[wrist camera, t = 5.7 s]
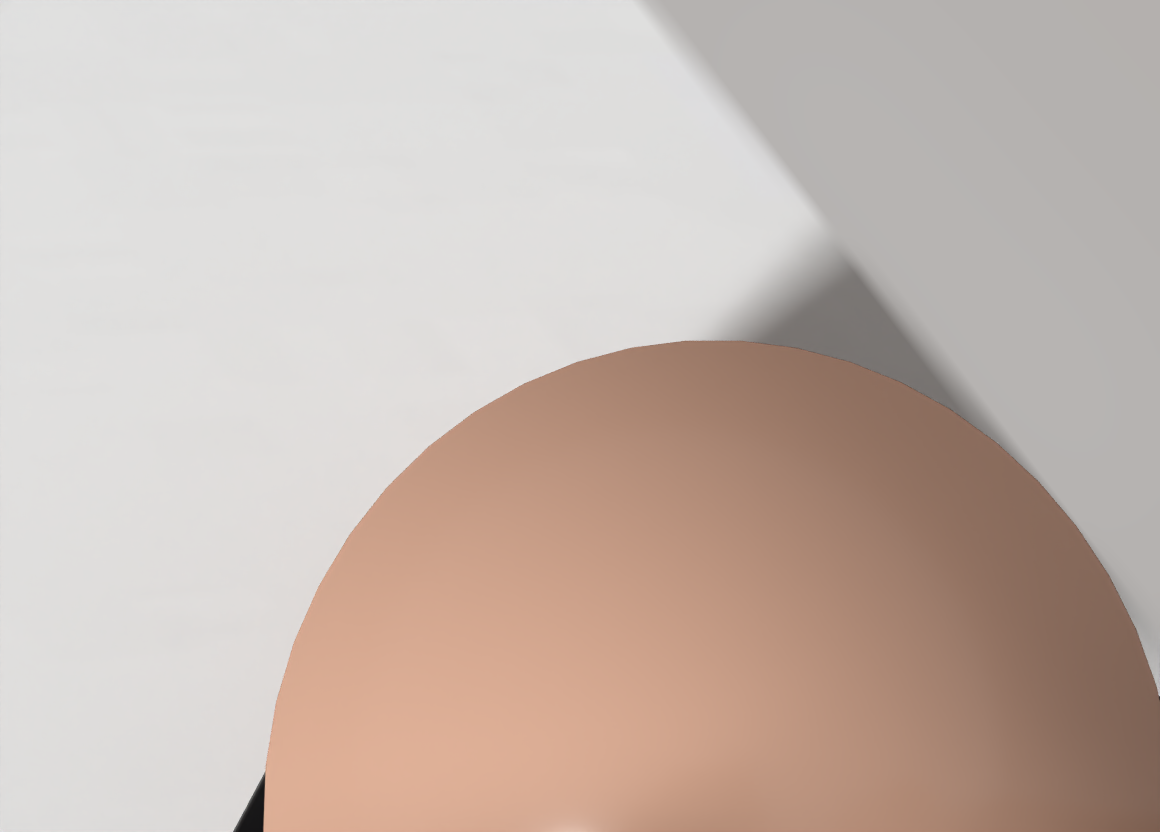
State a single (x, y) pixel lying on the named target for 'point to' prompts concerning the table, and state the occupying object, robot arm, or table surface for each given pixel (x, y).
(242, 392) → the table surface
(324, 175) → the table surface
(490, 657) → the peach pink cylinder
